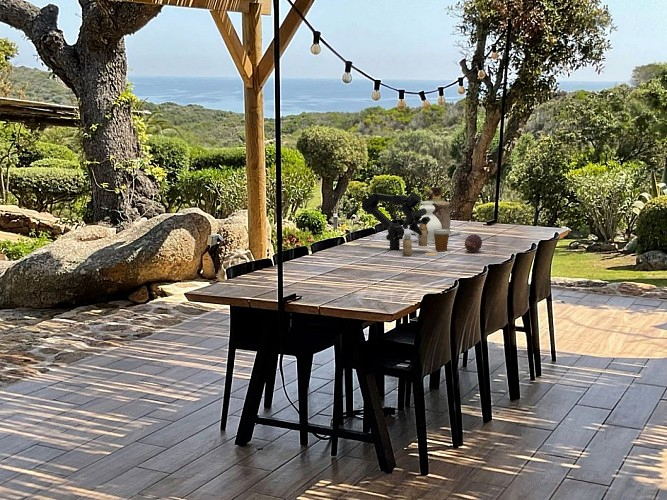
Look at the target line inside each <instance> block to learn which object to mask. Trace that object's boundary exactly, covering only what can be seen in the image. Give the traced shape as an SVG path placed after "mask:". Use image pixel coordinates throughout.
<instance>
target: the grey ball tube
mask: <svg viewBox="0 0 667 500" xmlns="http://www.w3.org/2000/svg"><path fill="white" fill-rule="evenodd" d="M411 237H412V236H411V233H404V235H403V238H402V255H403V256H412V255H413V253H412V251H413V247H412V246H413V245H412V241H413V239H412V238H411Z"/></svg>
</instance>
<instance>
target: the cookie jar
mask: <svg viewBox="0 0 667 500" xmlns="http://www.w3.org/2000/svg"><path fill="white" fill-rule="evenodd" d="M425 193H426V194H425V195H426V197H428V198H427V200H426V201H432V202H434V203H433V204H432V205H433V206H434V207H435V210H434V211H433V212H432V213H433V214H434V215H435V216H436V217H437V218H438V220H439V221H440V223H441V226H442V229H448V230H449V232H450V233H449V237H450V236H455V235H456V236H457V235H461V233H462V230H455V231H454V230H450V228H451V215H450V206H451V203H450V202H448V201H446V200H445V199H443V198H442V197H443V195H444V192H443V185H440V186H433V187H431V188H429V190H426V192H425ZM421 204H422V203H421ZM422 205H423V204H422ZM410 235H415V234H414V232H410Z"/></svg>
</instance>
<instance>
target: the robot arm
mask: <svg viewBox="0 0 667 500" xmlns="http://www.w3.org/2000/svg"><path fill="white" fill-rule="evenodd" d="M421 200H422V198H421V196H420V195H418V194H416V193H415V192H411V193H410V195H409V196H407V195H405V194H397V195H392V194H387V193H386V194H384V193H380V192H376V193H375V192H374V193H373V194H371V195H370V196H369V197H368V198H366V199H365V200H364V201H362V203H361V209H362V211H363V212H365V213H367V214H370V215H372V216H373V217H374V218H375V219H376V220H377V221H379V222H380V224H382V225H383V226H384V228H386V229H387V235H386V236H385V238H386V240H387V241H389V248H387V249H386V250H388V251H389V252H392V251H403V248H402V249H401V248H400V240H403V239H404V235H405V230H410V231H412V232H413V231H414V232H416V233H418V234H420V235H422V232H421V230H420V229H419V228H420V227H418V225H419V226H420V225H421V224H425V225H427V223H428V222H429V221H430V220H431V219H430V218H429V217H423V218H422V217H421V216H423V215H426V213H427V210H426V209H425V208H422V209H418V210H414V208H416V207H417V206H418V205H419V203H421V202H422V201H421ZM380 202H386V203H387V202H388V203H391V204H392V205H393V206H394V205H395V206H400V207H398V213H403V214H404V216H405V218H404V219H405V221H404V222H403V223H402V225H401V223H399V222H396V223H394V222H393V221H392V220H391V219H389V218H388V216H386V214H384V213H383V212H382V211H381V210H380V209H379V206H378V204H379V203H380ZM421 218H422V219H421ZM420 219H421V220H420ZM426 229H427V226H426ZM414 232H413V233H414ZM427 234H428V230H427Z"/></svg>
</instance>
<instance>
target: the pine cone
mask: <svg viewBox="0 0 667 500" xmlns="http://www.w3.org/2000/svg"><path fill="white" fill-rule="evenodd" d="M482 246H483V240H482V239H481V236H479V235H477V234H470V235H468V236H467V237H466V238H465V240H464V247H465V249H466V251H468V252H471V253H476V252H477V251H480V249H481V248H482Z"/></svg>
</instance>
